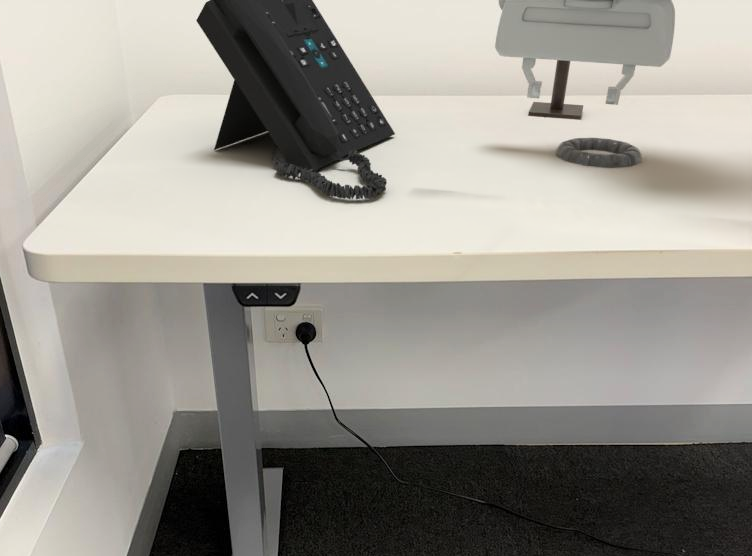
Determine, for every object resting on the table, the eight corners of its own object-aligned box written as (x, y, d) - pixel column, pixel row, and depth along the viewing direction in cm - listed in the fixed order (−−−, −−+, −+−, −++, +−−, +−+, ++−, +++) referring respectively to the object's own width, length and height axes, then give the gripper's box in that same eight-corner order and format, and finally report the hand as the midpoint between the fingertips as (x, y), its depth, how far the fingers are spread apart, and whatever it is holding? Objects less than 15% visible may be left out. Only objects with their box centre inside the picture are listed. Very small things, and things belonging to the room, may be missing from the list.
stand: (582, 111, 122) (597, 22, 115) (580, 122, 116) (595, 29, 109) (532, 108, 124) (544, 20, 117) (527, 118, 118) (539, 26, 111)
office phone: (364, 207, 81) (368, -5, 70) (163, 168, 93) (139, -19, 82) (468, 147, 102) (484, -22, 91) (294, 122, 114) (289, -31, 103)
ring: (638, 158, 99) (642, 139, 97) (639, 180, 90) (644, 160, 89) (557, 151, 101) (560, 133, 100) (551, 172, 93) (554, 152, 92)
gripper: (498, -31, 85) (484, 98, 93) (689, -23, 80) (658, 112, 88) (505, -34, 90) (491, 89, 98) (685, -26, 85) (656, 102, 93)
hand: (572, 100), depth 93 cm, fingers open, 8 cm apart
